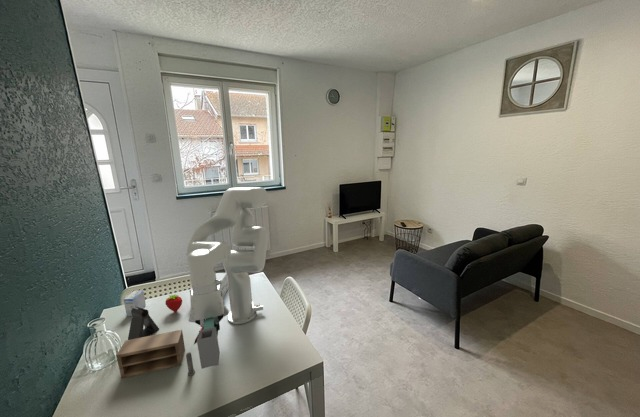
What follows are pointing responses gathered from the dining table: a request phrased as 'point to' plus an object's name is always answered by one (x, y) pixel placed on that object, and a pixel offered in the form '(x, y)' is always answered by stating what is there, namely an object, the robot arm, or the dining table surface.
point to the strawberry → (174, 302)
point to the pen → (197, 337)
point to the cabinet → (153, 354)
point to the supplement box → (223, 282)
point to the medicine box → (134, 301)
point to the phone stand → (141, 324)
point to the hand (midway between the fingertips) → (211, 332)
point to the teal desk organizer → (208, 344)
